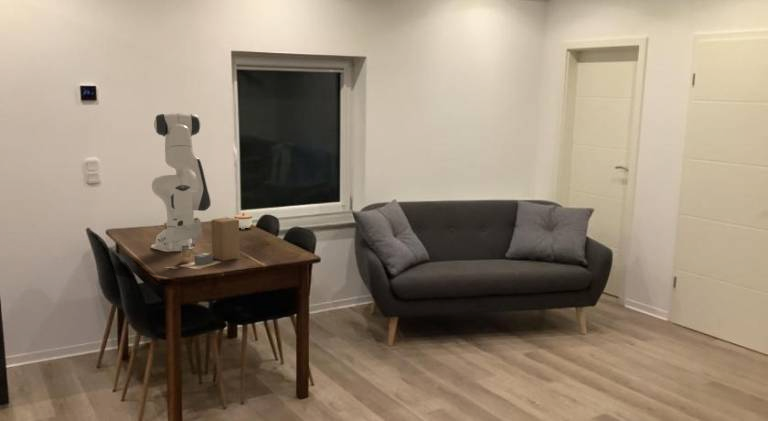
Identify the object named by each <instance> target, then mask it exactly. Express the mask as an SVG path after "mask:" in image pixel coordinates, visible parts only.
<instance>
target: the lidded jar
mask: <svg viewBox="0 0 768 421" xmlns="http://www.w3.org/2000/svg"><path fill="white" fill-rule="evenodd" d="M233 219H237V220H239V228H241V229H240V230H246V229H245V228H248V229H249V228H250V227H251V226H252V223H253V215H252V214H249V213H248V214H247V213H246V214H245V212H242V213H241V214H239V213H238V214H236V215H234V218H233Z"/></svg>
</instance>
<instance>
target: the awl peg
mask: <svg viewBox="0 0 768 421" xmlns="http://www.w3.org/2000/svg"><path fill="white" fill-rule="evenodd" d="M180 260H181V263H183V264H187V263H190V262H191V249H189V246H188V245H182V249H181V251H180Z"/></svg>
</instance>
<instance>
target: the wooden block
mask: <svg viewBox="0 0 768 421" xmlns="http://www.w3.org/2000/svg"><path fill="white" fill-rule="evenodd" d="M210 224H211V226H210V228H211V229H210V230H211V254H213V259H216V260H219V261H228V260H240V257H241V256H240V255H241V254H240V250H241V249H240V229H239V220H237V219H235V218H232V217H228V216H227V217H220V218H219V217H218V218H213V219H212V220H211V222H210Z"/></svg>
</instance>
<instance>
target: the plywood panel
mask: <svg viewBox="0 0 768 421" xmlns="http://www.w3.org/2000/svg"><path fill="white" fill-rule="evenodd" d="M221 263H222V261H220V260H219V261H218V260H213V262H212V263H209V264H206V265H198V264H195V260H194V261H190V262H188V263H183V264H181V265H179V267H183V268H189V269H195V270H200V269H204V268H207V267H210V266H215V265H217V264H221Z"/></svg>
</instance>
